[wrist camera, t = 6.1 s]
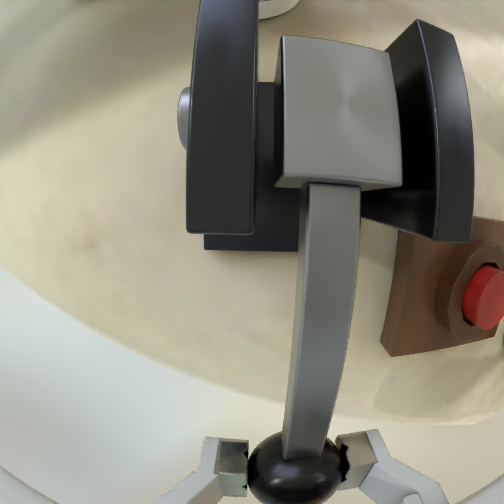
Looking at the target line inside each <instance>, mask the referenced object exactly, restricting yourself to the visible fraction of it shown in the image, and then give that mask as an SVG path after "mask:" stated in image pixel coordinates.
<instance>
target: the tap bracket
mask: <svg viewBox="0 0 504 504" xmlns="http://www.w3.org/2000/svg"><path fill="white" fill-rule="evenodd" d="M384 52H388V53H389V54H390V56H391V61H392V66H393V72H394V78H395V84H396V90H397V98H398V106H399V115H400V125H401V138H402V156H403V185H402V186H399V187H391V188H383V189H375V190H368V191H362V198H361V218H363V219H366V220H370V221H373V222H376V223H379V224H383V225H386V226H389V227H392V228H395V229H398V230H401V231H404V232H407V233H410V234H413V235H416V236H419V237H422V238H425V239H428V240H431V241H434V242H446V243H462V244H468V243H470V239H471V231H472V220H473V207H474V145H473V131H472V121H471V113H470V106H469V99H468V93H467V87H466V82H465V77H464V72H463V68H462V64H461V60H460V56H459V52H458V48H457V45H456V42H455V38H454V36H453V35H452V34H451V33H449V32H447V31H445V30H442V29H440V28H438V27H436V26H434V25H431V24H429V23H427V22H424V21H422V20H419V19H416V20H415V21H414V22H413V23H412V24H411V25H410V26H409V27H408V28H407V29H406V30H405V31H404V32H403V33H402V34H401V35H400V36H399V37H398V38H397V39H396V40H395V41H394V42H393V43H392V44H391V45H390V46H389V47H388V48H387V49H386V50H385V51H384ZM177 120H178V131H179V137H180V140H181V143H182V145H183V147H184V148H185V149H187V154H186V230H187V232H188V233H191V234H204V250H228V251H271V252H298V243H299V215H300V188H285V187H274V185H273V157H274V83H272V82H259V0H200V5H199V12H198V19H197V26H196V34H195V42H194V51H193V61H192V71H191V83H190V87H187V88H185V89H183V91H182V93H181V95H180V99H179V103H178V114H177Z"/></svg>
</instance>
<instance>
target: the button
mask: <svg viewBox="0 0 504 504" xmlns="http://www.w3.org/2000/svg"><path fill="white" fill-rule="evenodd" d="M462 308H463V313H464V315H465V317H466V318H467V319H468V320H470V321H471V322H472V323H474V324H475V325H476V326H478V327H479V328H480V329H482V330H489V329H491V328H493V327H494V326H496V325H497V324H498V323H499V321H500V320H501V319H502V318H503V316H504V272H503V271H501V270H499V269H497V268H494V267H492V266H489V265H486V266H483V267H481V268H479V269H478V270H477V271H476V272H475V273H474V274H473V275H472V277H471V279H470V281H469V283H468V284H467V286H466V289H465V292H464V296H463V302H462Z"/></svg>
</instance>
